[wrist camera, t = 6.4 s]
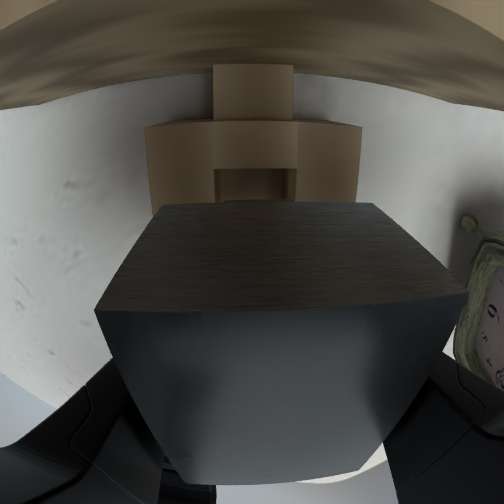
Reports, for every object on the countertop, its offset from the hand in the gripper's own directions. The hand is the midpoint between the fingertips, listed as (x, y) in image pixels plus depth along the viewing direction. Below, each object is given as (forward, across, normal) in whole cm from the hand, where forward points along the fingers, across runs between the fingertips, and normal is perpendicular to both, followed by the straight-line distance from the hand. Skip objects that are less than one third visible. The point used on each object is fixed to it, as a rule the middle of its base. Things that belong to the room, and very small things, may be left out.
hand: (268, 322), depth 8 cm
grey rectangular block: (+4, 0, 0) cm, 4 cm away
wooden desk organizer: (+12, 0, -3) cm, 12 cm away
